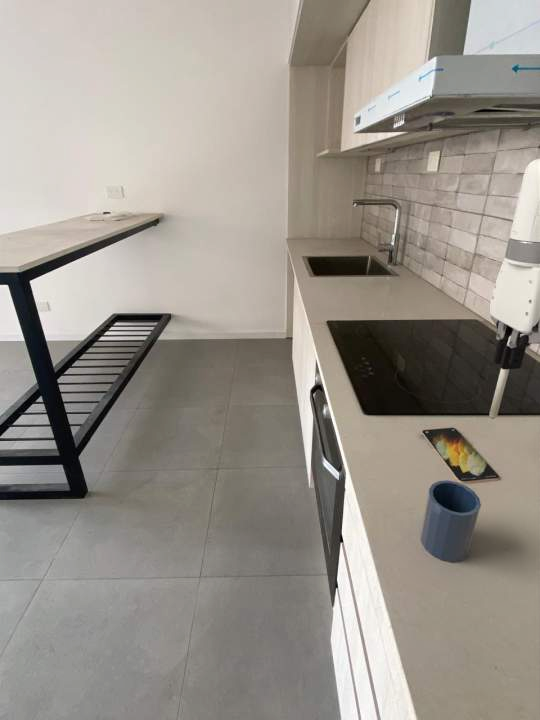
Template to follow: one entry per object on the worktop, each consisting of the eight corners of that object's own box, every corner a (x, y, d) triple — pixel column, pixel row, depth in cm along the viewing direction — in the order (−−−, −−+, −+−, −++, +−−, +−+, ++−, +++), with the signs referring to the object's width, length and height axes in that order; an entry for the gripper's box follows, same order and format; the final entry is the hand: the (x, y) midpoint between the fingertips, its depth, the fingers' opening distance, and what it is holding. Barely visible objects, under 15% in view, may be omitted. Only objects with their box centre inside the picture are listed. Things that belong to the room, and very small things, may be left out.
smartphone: (454, 427, 80) (501, 477, 66) (454, 429, 80) (500, 481, 66) (420, 429, 79) (460, 481, 66) (420, 432, 79) (459, 484, 66)
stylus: (493, 416, 70) (515, 333, 63) (497, 419, 69) (520, 336, 62) (487, 416, 70) (508, 334, 63) (491, 420, 69) (512, 336, 62)
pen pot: (453, 525, 59) (464, 478, 55) (476, 562, 53) (490, 513, 49) (413, 529, 58) (421, 482, 54) (432, 566, 53) (442, 517, 49)
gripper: (605, 262, 51) (562, 387, 59) (524, 243, 65) (499, 346, 72) (550, 264, 50) (514, 390, 58) (480, 244, 64) (459, 348, 72)
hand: (506, 365), depth 65 cm, fingers closed on stylus, 1 cm apart
